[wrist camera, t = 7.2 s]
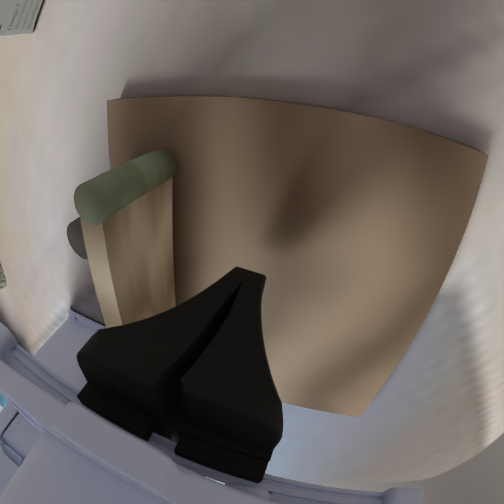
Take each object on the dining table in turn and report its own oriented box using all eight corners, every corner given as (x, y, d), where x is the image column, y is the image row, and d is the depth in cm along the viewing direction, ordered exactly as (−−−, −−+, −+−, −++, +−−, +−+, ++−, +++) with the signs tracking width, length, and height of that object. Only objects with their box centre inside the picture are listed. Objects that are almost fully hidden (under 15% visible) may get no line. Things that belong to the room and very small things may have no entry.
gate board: (153, 350, 24) (124, 393, 20) (119, 98, 13) (47, 114, 9) (360, 406, 20) (353, 461, 16) (479, 150, 10) (536, 185, 6)
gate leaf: (185, 363, 21) (155, 415, 17) (162, 354, 21) (130, 403, 17) (180, 151, 13) (106, 187, 9) (145, 146, 13) (68, 180, 9)
